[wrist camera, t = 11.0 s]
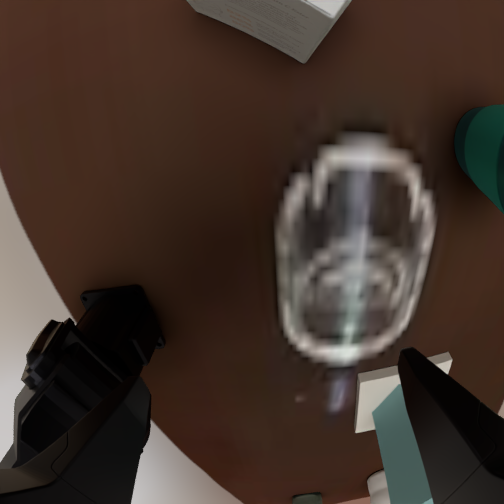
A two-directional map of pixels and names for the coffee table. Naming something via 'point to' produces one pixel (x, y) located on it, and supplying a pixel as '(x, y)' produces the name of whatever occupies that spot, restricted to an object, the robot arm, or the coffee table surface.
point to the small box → (278, 21)
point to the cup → (483, 150)
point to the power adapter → (307, 498)
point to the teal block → (400, 452)
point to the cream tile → (382, 390)
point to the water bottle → (378, 488)
